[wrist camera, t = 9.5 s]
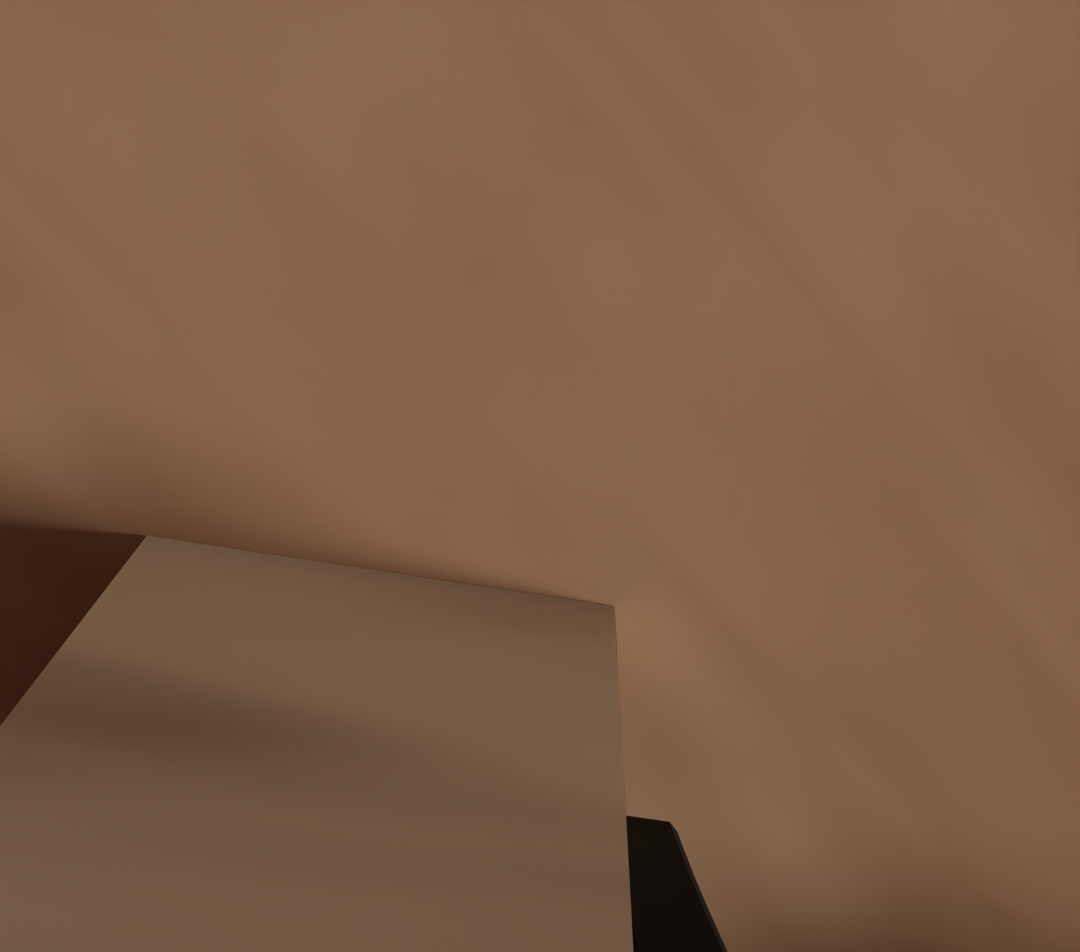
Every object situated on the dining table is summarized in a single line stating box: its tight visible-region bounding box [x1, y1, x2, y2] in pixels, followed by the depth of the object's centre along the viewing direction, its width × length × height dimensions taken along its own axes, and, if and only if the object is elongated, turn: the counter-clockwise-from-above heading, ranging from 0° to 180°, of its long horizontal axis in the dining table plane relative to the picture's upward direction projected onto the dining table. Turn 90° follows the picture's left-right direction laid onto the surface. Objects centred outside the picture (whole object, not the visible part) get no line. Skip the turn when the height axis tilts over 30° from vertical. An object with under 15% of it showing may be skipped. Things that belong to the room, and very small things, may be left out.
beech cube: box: [0, 536, 633, 952], centre depth 10 cm, size 5×5×5 cm
